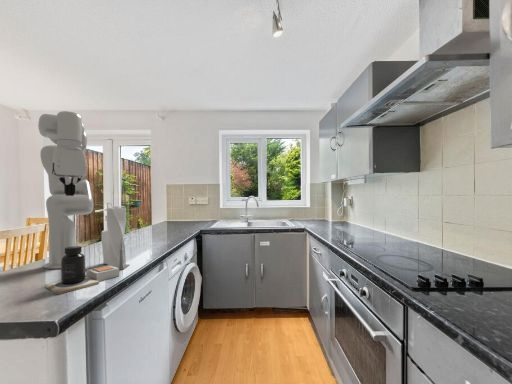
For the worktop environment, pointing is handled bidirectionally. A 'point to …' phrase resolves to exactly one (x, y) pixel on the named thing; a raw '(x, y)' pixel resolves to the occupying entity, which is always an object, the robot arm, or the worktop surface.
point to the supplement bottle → (72, 266)
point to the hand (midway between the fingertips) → (69, 195)
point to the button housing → (103, 274)
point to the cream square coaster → (71, 285)
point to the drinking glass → (105, 245)
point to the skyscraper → (116, 236)
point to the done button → (102, 269)
